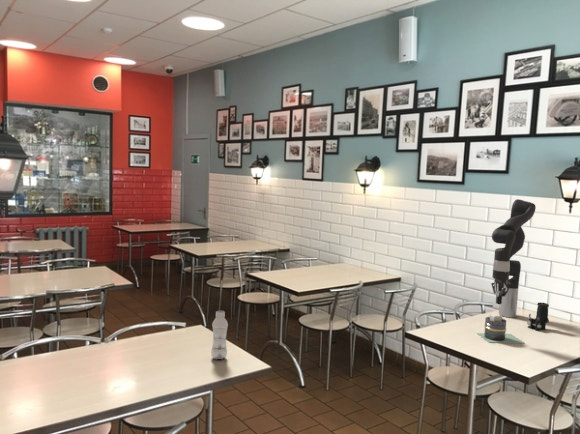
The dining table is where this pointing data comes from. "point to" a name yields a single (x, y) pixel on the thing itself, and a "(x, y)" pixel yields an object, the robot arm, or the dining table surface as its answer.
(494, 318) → the white stepped cube
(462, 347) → the dining table surface
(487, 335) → the grey faceted ring
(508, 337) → the mat
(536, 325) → the scope
